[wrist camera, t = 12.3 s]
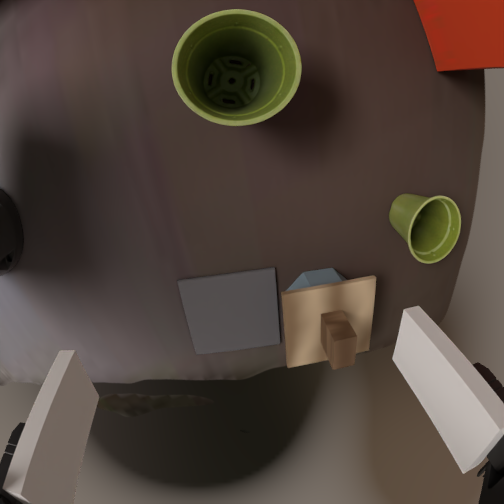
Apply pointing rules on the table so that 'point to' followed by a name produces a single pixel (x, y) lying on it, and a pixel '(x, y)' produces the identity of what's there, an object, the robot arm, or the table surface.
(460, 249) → the table surface
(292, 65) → the plant pot
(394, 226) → the plant pot
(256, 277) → the charcoal mat
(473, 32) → the file binder
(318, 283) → the slate-blue bowl
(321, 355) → the oak board
